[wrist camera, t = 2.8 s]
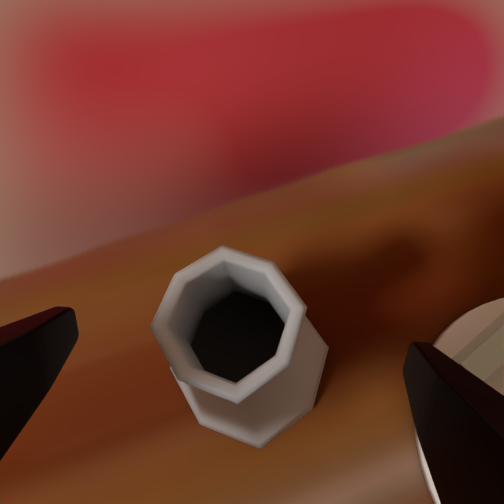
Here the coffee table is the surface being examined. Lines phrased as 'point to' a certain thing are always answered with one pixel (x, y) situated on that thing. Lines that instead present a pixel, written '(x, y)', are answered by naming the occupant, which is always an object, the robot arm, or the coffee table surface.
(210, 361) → the flask
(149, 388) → the coffee table surface
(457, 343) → the shaker seat
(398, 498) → the coffee table surface
